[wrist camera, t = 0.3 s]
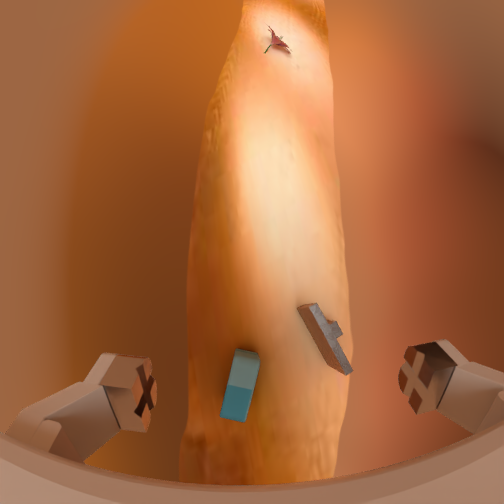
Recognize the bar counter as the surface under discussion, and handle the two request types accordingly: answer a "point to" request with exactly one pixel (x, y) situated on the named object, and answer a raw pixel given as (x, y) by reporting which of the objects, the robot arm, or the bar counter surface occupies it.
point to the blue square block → (240, 385)
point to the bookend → (325, 337)
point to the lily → (277, 41)
